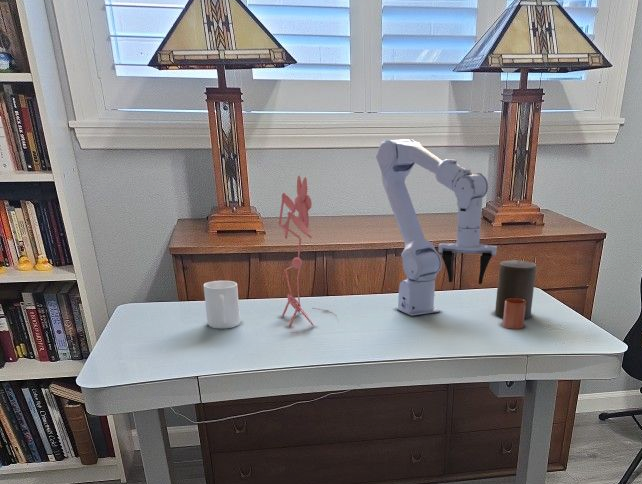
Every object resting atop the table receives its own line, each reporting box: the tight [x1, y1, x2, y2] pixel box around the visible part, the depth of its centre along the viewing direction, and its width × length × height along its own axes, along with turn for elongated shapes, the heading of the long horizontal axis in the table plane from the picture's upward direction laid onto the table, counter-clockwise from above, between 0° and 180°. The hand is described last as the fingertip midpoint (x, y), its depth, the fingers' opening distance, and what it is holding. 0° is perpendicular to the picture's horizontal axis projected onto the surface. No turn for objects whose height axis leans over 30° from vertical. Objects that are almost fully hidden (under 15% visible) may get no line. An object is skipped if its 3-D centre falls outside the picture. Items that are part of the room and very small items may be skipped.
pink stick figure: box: [278, 175, 339, 334], centre depth 176 cm, size 15×26×35 cm, turn 19°
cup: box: [203, 280, 241, 330], centre depth 176 cm, size 8×12×10 cm
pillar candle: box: [494, 258, 537, 320], centre depth 188 cm, size 10×10×15 cm
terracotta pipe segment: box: [502, 298, 526, 330], centre depth 181 cm, size 5×6×6 cm
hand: (465, 282), depth 180 cm, fingers open, 7 cm apart
